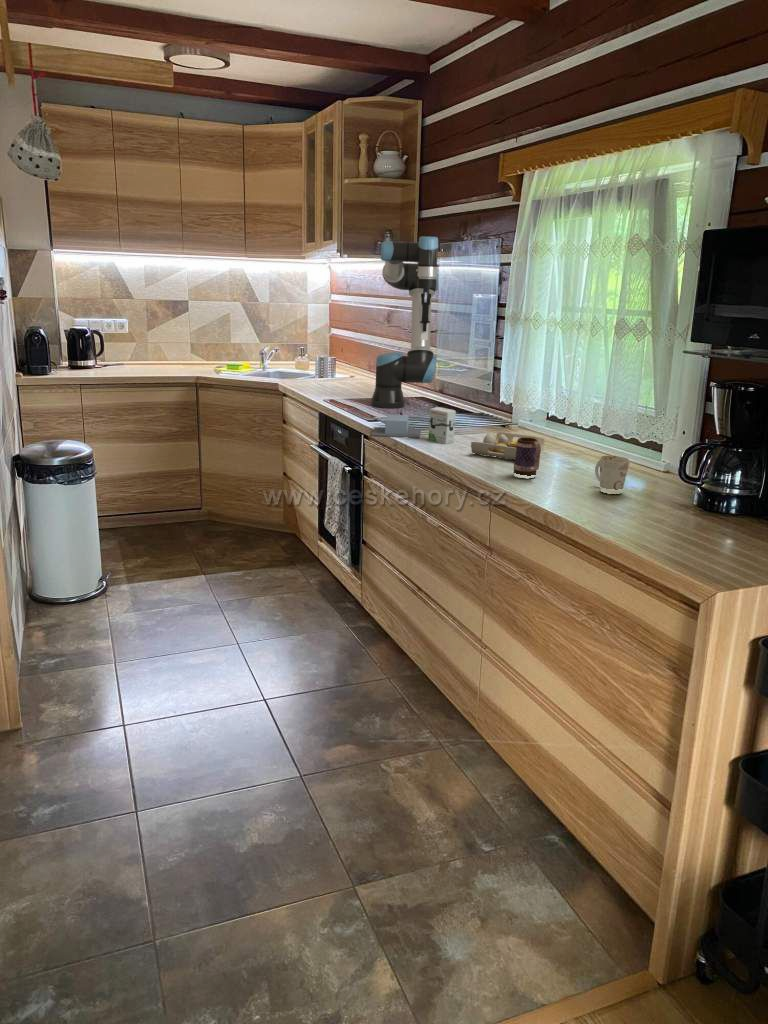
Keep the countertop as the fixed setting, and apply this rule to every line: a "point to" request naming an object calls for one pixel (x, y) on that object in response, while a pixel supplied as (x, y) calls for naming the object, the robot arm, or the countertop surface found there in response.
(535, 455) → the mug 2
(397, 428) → the block
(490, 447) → the toy food set
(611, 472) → the mug
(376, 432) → the mat
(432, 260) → the robot arm
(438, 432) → the ink box
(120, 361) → the countertop surface
